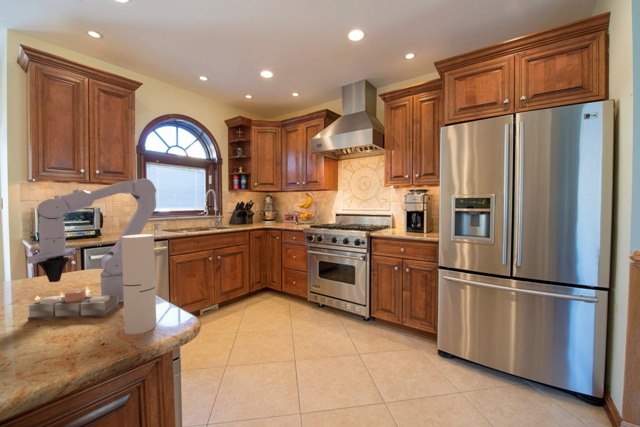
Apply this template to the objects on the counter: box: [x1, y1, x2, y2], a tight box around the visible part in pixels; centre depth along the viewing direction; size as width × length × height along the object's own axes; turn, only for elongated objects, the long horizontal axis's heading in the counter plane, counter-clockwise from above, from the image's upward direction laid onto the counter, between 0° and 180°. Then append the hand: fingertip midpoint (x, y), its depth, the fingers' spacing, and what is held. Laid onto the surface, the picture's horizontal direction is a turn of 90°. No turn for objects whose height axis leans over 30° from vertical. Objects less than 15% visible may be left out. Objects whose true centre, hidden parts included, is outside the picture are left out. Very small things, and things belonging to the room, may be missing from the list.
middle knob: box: [64, 289, 87, 303], centre depth 82 cm, size 5×5×4 cm
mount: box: [27, 295, 120, 322], centre depth 82 cm, size 21×7×4 cm, turn 94°
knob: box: [90, 295, 110, 303], centre depth 83 cm, size 5×5×4 cm
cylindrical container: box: [122, 233, 157, 335], centre depth 73 cm, size 7×7×25 cm
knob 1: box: [39, 295, 62, 304], centre depth 82 cm, size 5×5×4 cm
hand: (54, 281), depth 85 cm, fingers closed
